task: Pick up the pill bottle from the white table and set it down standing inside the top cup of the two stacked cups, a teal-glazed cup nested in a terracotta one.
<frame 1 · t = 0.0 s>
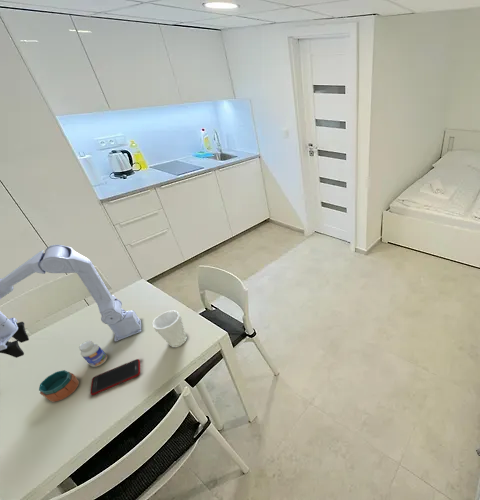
hand: (22, 348, 104), 10 cm above the table, tool pointing down, fingers open, 7 cm apart
cell phone: (117, 377, 105), on the table
foam cup: (178, 341, 118), on the table
cup stack: (63, 389, 101), on the table
pill bottle: (99, 361, 111), on the table
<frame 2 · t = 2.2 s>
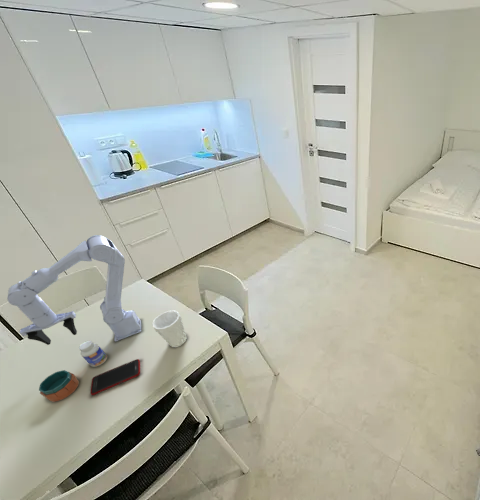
hand: (62, 337, 107), 10 cm above the table, tool pointing down, fingers open, 7 cm apart
nothing on the table moved.
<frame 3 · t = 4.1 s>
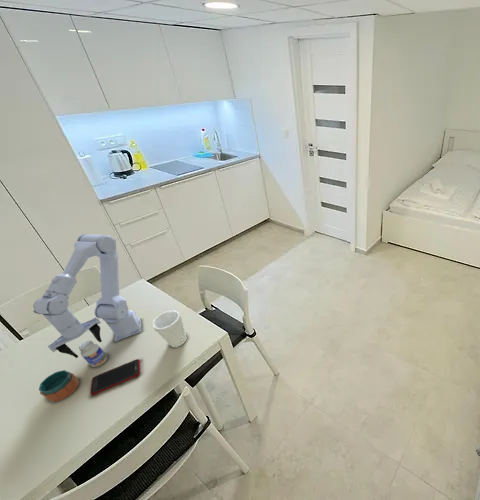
hand: (88, 348, 106), 8 cm above the table, tool pointing down, fingers open, 7 cm apart
nothing on the table moved.
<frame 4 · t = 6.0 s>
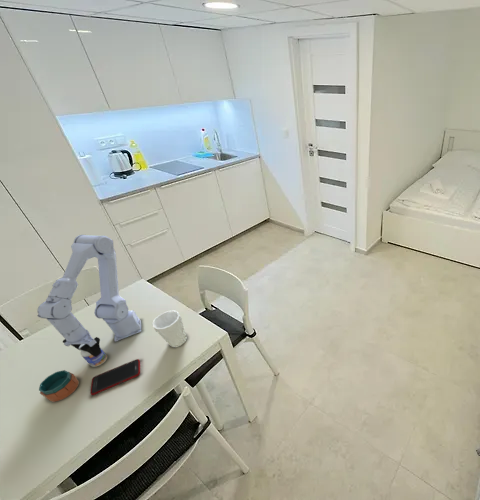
hand: (91, 351, 107), 6 cm above the table, tool pointing down, fingers open, 7 cm apart
nothing on the table moved.
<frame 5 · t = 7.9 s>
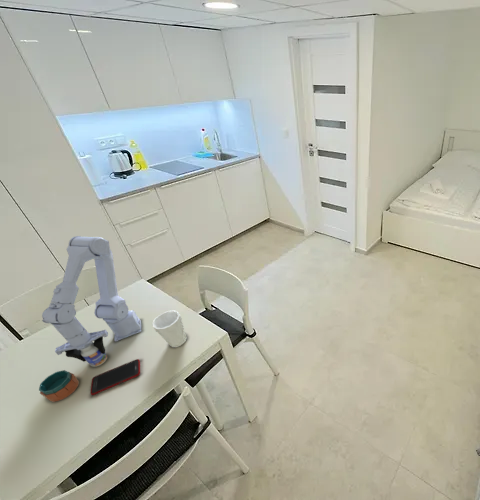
hand: (94, 355, 109), 3 cm above the table, tool pointing down, fingers closed on pill bottle, 5 cm apart
pill bottle: (99, 361, 111), on the table, touching gripper
everything else where it was.
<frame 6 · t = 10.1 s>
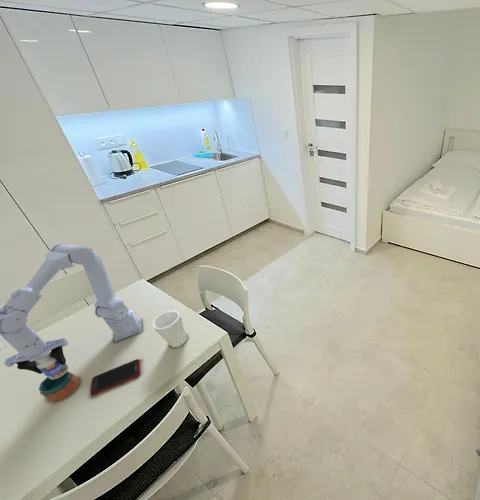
hand: (53, 366, 97), 10 cm above the table, tool pointing down, fingers closed on pill bottle, 5 cm apart
pill bottle: (59, 372, 99), point 7 cm above the table, touching gripper
everything else where it was.
when the fingers open (6 cm above the table, at t = 12.1 s): pill bottle stays where it is, resting on cup stack.
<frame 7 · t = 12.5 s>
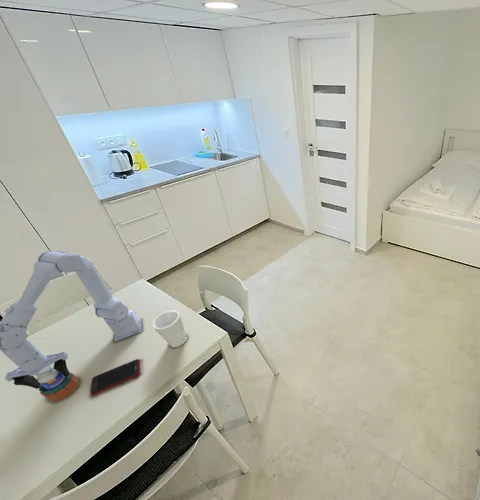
hand: (53, 380, 98), 6 cm above the table, tool pointing down, fingers open, 7 cm apart
pill bottle: (60, 386, 100), point 2 cm above the table, touching cup stack
everything else where it was.
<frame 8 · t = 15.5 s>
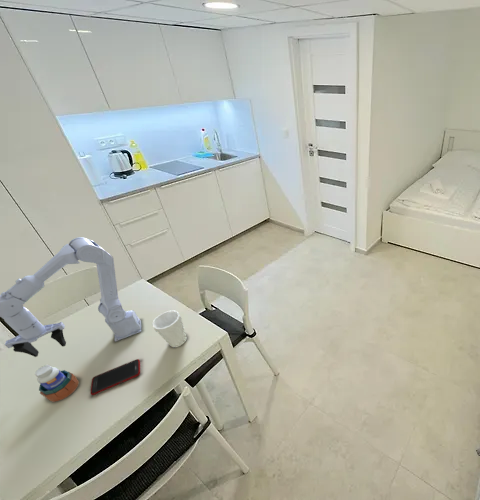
hand: (50, 349, 103), 10 cm above the table, tool pointing down, fingers open, 7 cm apart
nothing on the table moved.
at the end: pill bottle 0.1 cm off-centre on the cup stack, point 2.0 cm above the cup stack's base; pill bottle tilted 0°; the gripper is holding nothing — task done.
